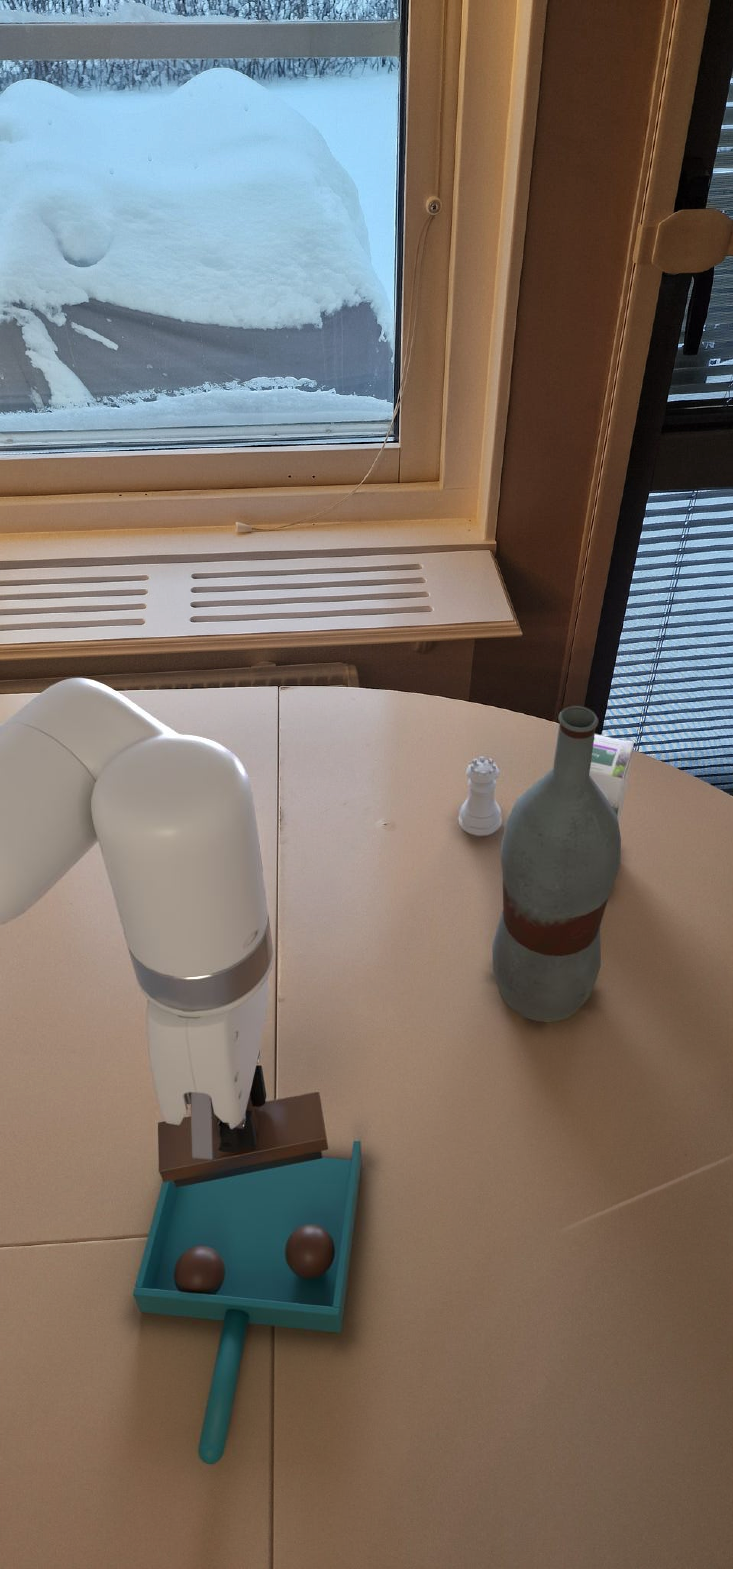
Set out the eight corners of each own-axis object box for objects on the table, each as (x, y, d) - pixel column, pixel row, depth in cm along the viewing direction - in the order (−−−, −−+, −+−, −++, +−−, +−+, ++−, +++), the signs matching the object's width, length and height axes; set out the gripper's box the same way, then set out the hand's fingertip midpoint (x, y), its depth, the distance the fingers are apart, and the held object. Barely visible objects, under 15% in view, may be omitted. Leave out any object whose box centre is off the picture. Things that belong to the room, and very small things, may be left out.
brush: (168, 1193, 69) (134, 1114, 62) (166, 1144, 72) (133, 1063, 65) (331, 1161, 70) (314, 1078, 63) (323, 1113, 72) (306, 1030, 66)
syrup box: (544, 877, 101) (558, 764, 91) (559, 837, 105) (573, 725, 95) (602, 892, 99) (623, 779, 89) (615, 850, 103) (636, 738, 93)
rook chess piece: (461, 806, 109) (463, 747, 103) (503, 811, 108) (508, 752, 102) (455, 835, 105) (457, 776, 100) (499, 841, 105) (503, 782, 99)
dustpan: (183, 1145, 81) (177, 1125, 79) (361, 1161, 79) (360, 1140, 77) (103, 1458, 65) (92, 1443, 63) (323, 1484, 64) (320, 1469, 62)
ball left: (162, 1269, 73) (205, 1242, 75) (185, 1316, 71) (229, 1287, 73) (168, 1257, 70) (213, 1230, 72) (192, 1306, 69) (238, 1277, 70)
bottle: (471, 961, 93) (488, 695, 73) (560, 930, 96) (600, 664, 76) (521, 1043, 87) (554, 775, 67) (615, 1007, 89) (674, 739, 69)
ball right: (304, 1288, 73) (285, 1285, 70) (290, 1238, 75) (271, 1233, 72) (348, 1268, 73) (330, 1264, 70) (333, 1219, 75) (315, 1212, 72)
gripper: (170, 833, 62) (209, 1015, 74) (87, 1067, 50) (149, 1237, 62) (294, 841, 61) (312, 1023, 74) (240, 1081, 49) (272, 1250, 62)
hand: (237, 1120), depth 68 cm, fingers closed on brush, 2 cm apart
